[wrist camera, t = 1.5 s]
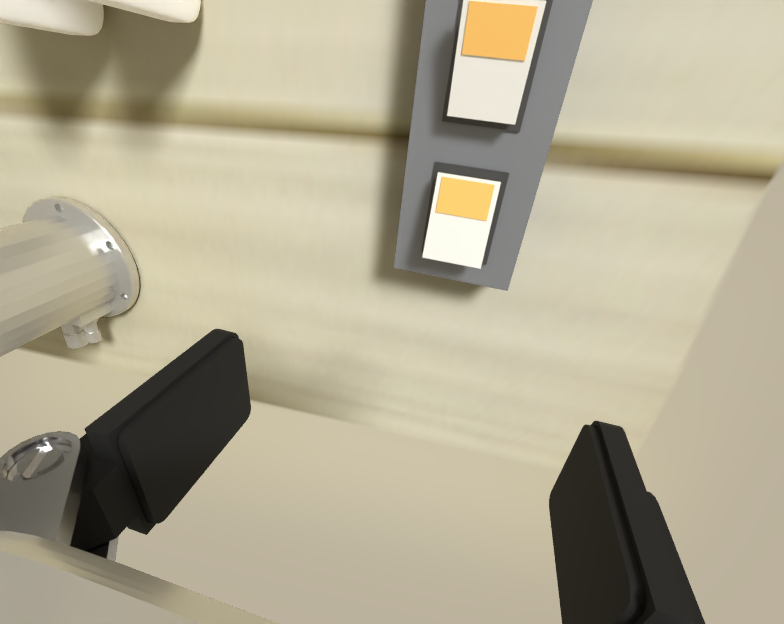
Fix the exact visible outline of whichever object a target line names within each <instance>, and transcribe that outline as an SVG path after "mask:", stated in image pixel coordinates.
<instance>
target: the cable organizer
mask: <svg viewBox="0 0 784 624" xmlns="http://www.w3.org/2000/svg"><path fill="white" fill-rule="evenodd" d="M103 5H107V6H111V7H115V8H119V9H122V10H126V11H130V12H134V13H138V14H142V15H145V16H149V17H153V18H157V19H161V20H165V21H168V22H182V23H191V22H193V21H195V20H196V18H197V17H198V14H199V11H200V6H201V0H0V23H4V24H10V25H16V26H22V27H28V28H34V29H39V30H45V31H51V32H57V33H63V34H69V35H88V36H93V35H96V34H97V33H99V31H100V30H101V28H102V25H103V20H104V9H103Z"/></svg>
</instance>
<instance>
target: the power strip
mask: <svg viewBox="0 0 784 624" xmlns="http://www.w3.org/2000/svg"><path fill="white" fill-rule="evenodd" d="M592 1H593V0H546V5H545V9H544V13H543V17H542V21H541V25H540V29H539V33H538V37H537V40H536V44H535V48H534V52H533V56H532V60H531V64H530V68H529V72H528V76H527V80H526V84H525V88H524V92H523V96H522V100H521V103H520V107H519V111H518V115H517V119H516V123H515V125H513V124H505V123H498V122H490V121H483V120H475V119H468V118H460V117H453V116H447V113H448V106H449V99H450V92H451V84H452V77H453V70H454V63H455V56H456V49H457V42H458V35H459V27H460V20H461V13H462V6H463V0H426V3H425V11H424V20H423V28H422V36H421V45H420V53H419V61H418V70H417V78H416V86H415V95H414V103H413V111H412V119H411V128H410V136H409V144H408V153H407V161H406V169H405V178H404V186H403V194H402V202H401V211H400V219H399V227H398V236H397V244H396V252H395V261H394V268H397V269H402V270H407V271H412V272H417V273H422V274H427V275H431V276H436V277H441V278H446V279H451V280H456V281H461V282H466V283H471V284H476V285H481V286H486V287H491V288H496V289H501V290H506V291H508V287H509V284H510V281H511V277H512V274H513V270H514V267H515V264H516V260H517V257H518V253H519V250H520V246H521V243H522V240H523V236H524V233H525V229H526V226H527V223H528V219H529V216H530V212H531V209H532V206H533V202H534V199H535V195H536V192H537V189H538V185H539V182H540V178H541V175H542V172H543V168H544V165H545V161H546V158H547V155H548V151H549V148H550V144H551V141H552V138H553V134H554V131H555V127H556V124H557V120H558V117H559V114H560V110H561V107H562V103H563V100H564V97H565V93H566V90H567V86H568V83H569V80H570V76H571V73H572V69H573V66H574V63H575V59H576V56H577V52H578V49H579V46H580V42H581V39H582V35H583V32H584V29H585V25H586V22H587V18H588V15H589V12H590V8H591V5H592ZM438 172H440V173H447V174H453V175H459V176H466V177H472V178H478V179H485V180H491V181H498V182H501V185H500V189H499V193H498V197H497V202H496V206H495V210H494V214H493V219H492V223H491V227H490V231H489V236H488V240H487V244H486V248H485V253H484V257H483V261H482V265H481V269H479V268H474V267H469V266H464V265H459V264H453V263H448V262H443V261H438V260H433V259H428V258H423V257H422V256H423V251H424V245H425V240H426V234H427V229H428V224H429V218H430V213H431V207H432V202H433V196H434V191H435V186H436V180H437V175H438Z"/></svg>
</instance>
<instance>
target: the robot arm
mask: <svg viewBox="0 0 784 624" xmlns="http://www.w3.org/2000/svg"><path fill="white" fill-rule="evenodd" d="M138 293H139V275H138V271H137V267H136V264H135V262H134V259H133V257H132V254H131V253H130V251H129V249H128V247H127V246H126V244H125V242H124V241H123V240H122V238H121V237H120V235H119V234H118V233H117V231H116V230H115V229H114V228H113V227H112V226H111V225H110V224H109V223H108V222H107V221H106V220H105V219H104V218H102V217H101V216H100V215H99V214H98V213H96V212H95V211H93V210H92V209H90V208H89V207H87V206H86V205H84V204H81V203H79V202H77V201H75V200H72V199H68V198H64V197H51V198H46V199H41V200H38V201H36V202H34V203H32V204H31V205H30V206H29V207H28V208H27V210H26V212H25V214H24V217H23V222H22V223H20V224H16V225H12V226H8V227H4V228H0V356H2V355H4V354H6V353H8V352H10V351H12V350H14V349H16V348H18V347H20V346H22V345H24V344H26V343H28V342H30V341H32V340H34V339H36V338H38V337H40V336H42V335H44V334H46V333H48V332H50V331H52V330H54V329H57V328H59V327H61V328H62V331H63V332H62V333H63V336H64V339H65V341H66V344H67V346H68V348H71V349H76V348H81V347H84V346H86V345H87V344H88V343H97V342H99V341H101V340H102V335H101V332H100V329H99V328H98V326H97V323H96V322H97V321H98V320H99V319H98V318H100V317H111V316H116V315H118V314H121V313H123V312H124V311H126V310H128V309H129V308H131V307H132V305H133V304H134V303H135V302H136V299H137V297H138ZM250 411H251V404H250V396H249V388H248V380H247V372H246V364H245V356H244V348H243V342H242V340H240V339H239V337H238V335H237V334H236V333H233V332H229V331H225V330H221V329H214V330H212V331H211V332H210V333H208V334H207V335H206V336H204V337H203V338H202V339H201V340H199V341H198V342H197V343H195V344H194V345H193V346H191V347H190V348H189V349H188V350H186V351H185V352H184V353H182V354H181V355H180V356H178V357H177V358H176V359H175V360H173V361H172V362H171V363H169V364H168V365H167V366H165V367H164V368H163V369H162V370H160V371H159V372H158V373H156V374H155V375H154V376H152V377H151V378H150V379H149V380H147V381H146V382H145V383H143V384H142V385H141V386H139V387H138V388H137V389H136V390H134V391H133V392H132V393H130V394H129V395H128V396H126V397H125V398H124V399H123V400H121V401H120V402H119V403H117V404H116V405H115V406H114V407H112V408H111V409H110V410H108V411H107V412H106V413H104V414H103V415H102V416H100V417H99V418H98V419H97V420H95V421H94V422H93V423H91V424H90V425H89V426H87V427H86V428H85V431H86V434H85V435H84V436H83V437H82V438H80V439H79V438H78V437H77V436H76V435H75V434H72V433H70V432H62V431H57V432H50V433H45V434H42V435H38V436H35V437H32V438H30V439H28V440H26V441H24V442H21V443H20V444H18V445H17V446H15V447H14V448H12V449H10V450H9V451H8V452H7V453H5V454H4V455H3V456H2V457H1V458H0V624H277V623H275V622H272V621H270V620H267V619H265V618H262V617H259V616H257V615H254V614H252V613H249V612H246V611H244V610H241V609H239V608H236V607H233V606H231V605H228V604H226V603H223V602H220V601H217V600H215V599H212V598H210V597H207V596H204V595H202V594H199V593H196V592H194V591H191V590H188V589H186V588H183V587H181V586H178V585H175V584H173V583H170V582H167V581H165V580H162V579H159V578H157V577H154V576H151V575H149V574H146V573H144V572H141V571H138V570H136V569H133V568H130V567H128V566H125V565H122V564H120V563H117V562H115V560H116V552H117V544H118V536H119V534H121V532H122V531H123V530H124V529H125V528H126V527H128V528H129V529H132V530H135V531H138V532H140V533H143V534H146V535H147V534H148V533H149V531H150V530H151V529H152V528H153V527H154V526H155V524H156V523H161V522H162V521H164V520H165V519H166V518H167V517H168V515H169V514H170V513H171V512H172V510H174V508H175V507H176V506H177V505H178V503H179V502H180V501H181V500H182V498H183V497H184V496H185V495H186V494H187V492H188V491H189V490H190V489H191V487H192V486H193V485H194V484H195V483H196V481H197V480H198V479H199V478H200V476H201V475H202V474H203V473H204V472H205V470H206V469H207V468H208V467H209V466H210V464H211V463H212V462H213V461H214V459H215V458H216V457H217V456H218V455H219V453H220V452H221V451H222V450H223V448H224V447H225V446H226V445H227V444H228V442H229V441H230V440H231V439H232V438H233V436H234V435H235V434H236V433H237V431H238V430H239V429H240V428H241V427H242V425H243V424H244V423H245V422H246V420H247V419H248V417H249V415H250ZM549 509H550V517H551V518H550V519H551V528H552V536H553V545H554V554H555V563H556V572H557V580H558V590H559V598H560V608H561V617H562V624H705V622H704V619H703V617H702V614H701V612H700V609H699V606H698V604H697V601H696V599H695V596H694V594H693V591H692V589H691V586H690V584H689V581H688V578H687V576H686V574H685V571H684V568H683V565H682V563H681V560H680V558H679V555H678V552H677V550H676V547H675V545H674V542H673V540H672V537H671V534H670V532H669V529H668V527H667V524H666V522H665V519H664V516H663V514H662V511H661V509H660V506H659V504H658V502H657V500H656V498H655V497H654V496H653V495H652V494H651V493H650V492H647V491H646V488H645V486H644V483H643V480H642V477H641V475H640V472H639V469H638V467H637V464H636V461H635V458H634V456H633V453H632V450H631V448H630V445H629V442H628V439H627V437H626V434H625V432H624V430H623V428H622V427H620V426H616V425H612V424H608V423H604V422H599V421H594V422H593V423H592V424H591V425H584V426H583V428H582V430H581V432H580V434H579V436H578V438H577V440H576V442H575V444H574V446H573V448H572V450H571V452H570V454H569V456H568V458H567V460H566V462H565V464H564V467H563V469H562V471H561V473H560V475H559V477H558V479H557V481H556V483H555V485H554V487H553V489H552V491H551V494H550V499H549Z"/></svg>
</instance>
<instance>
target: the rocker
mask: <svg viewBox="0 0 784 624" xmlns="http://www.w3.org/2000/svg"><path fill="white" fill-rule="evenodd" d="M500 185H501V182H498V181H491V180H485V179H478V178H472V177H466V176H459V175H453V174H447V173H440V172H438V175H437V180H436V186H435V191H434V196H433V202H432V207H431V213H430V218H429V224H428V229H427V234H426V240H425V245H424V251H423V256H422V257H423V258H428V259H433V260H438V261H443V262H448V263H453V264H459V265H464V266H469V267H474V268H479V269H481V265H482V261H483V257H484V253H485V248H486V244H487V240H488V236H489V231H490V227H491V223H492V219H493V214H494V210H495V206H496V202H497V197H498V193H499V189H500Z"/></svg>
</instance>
